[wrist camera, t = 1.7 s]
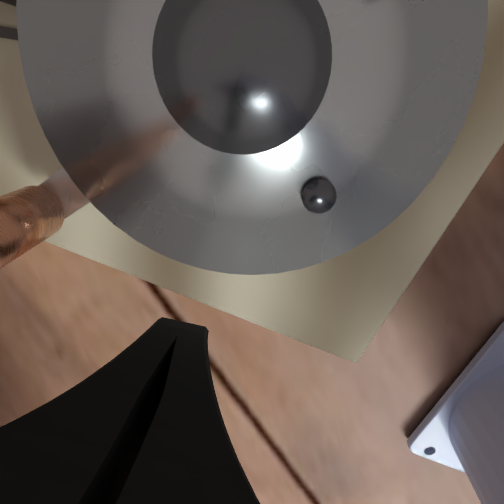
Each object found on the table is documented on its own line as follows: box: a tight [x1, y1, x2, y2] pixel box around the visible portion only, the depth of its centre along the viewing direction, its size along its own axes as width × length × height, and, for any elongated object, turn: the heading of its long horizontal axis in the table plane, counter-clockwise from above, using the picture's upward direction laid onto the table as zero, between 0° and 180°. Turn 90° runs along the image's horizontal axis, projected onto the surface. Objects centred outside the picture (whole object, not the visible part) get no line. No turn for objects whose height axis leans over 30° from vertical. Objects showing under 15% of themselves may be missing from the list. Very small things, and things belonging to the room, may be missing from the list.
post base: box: [0, 0, 504, 363], centre depth 11 cm, size 16×16×3 cm
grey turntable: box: [0, 0, 488, 275], centre depth 9 cm, size 14×12×4 cm
